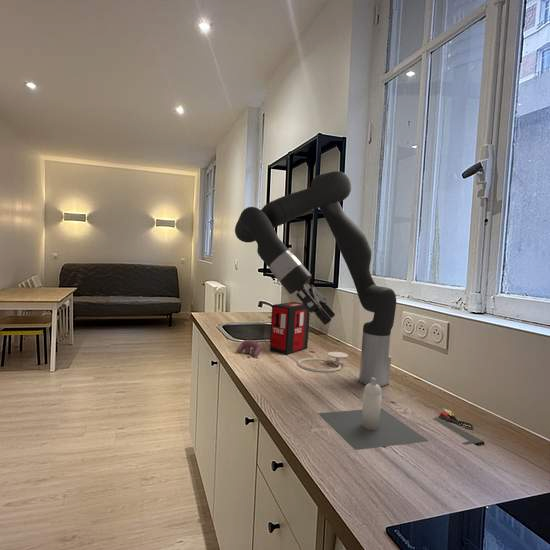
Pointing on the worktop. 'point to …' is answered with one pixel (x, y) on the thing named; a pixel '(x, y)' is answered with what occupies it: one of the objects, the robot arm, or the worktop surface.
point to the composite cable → (451, 417)
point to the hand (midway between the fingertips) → (330, 319)
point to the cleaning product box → (289, 328)
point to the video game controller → (250, 343)
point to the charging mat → (363, 438)
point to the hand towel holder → (331, 354)
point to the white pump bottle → (371, 405)
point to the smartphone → (460, 433)
